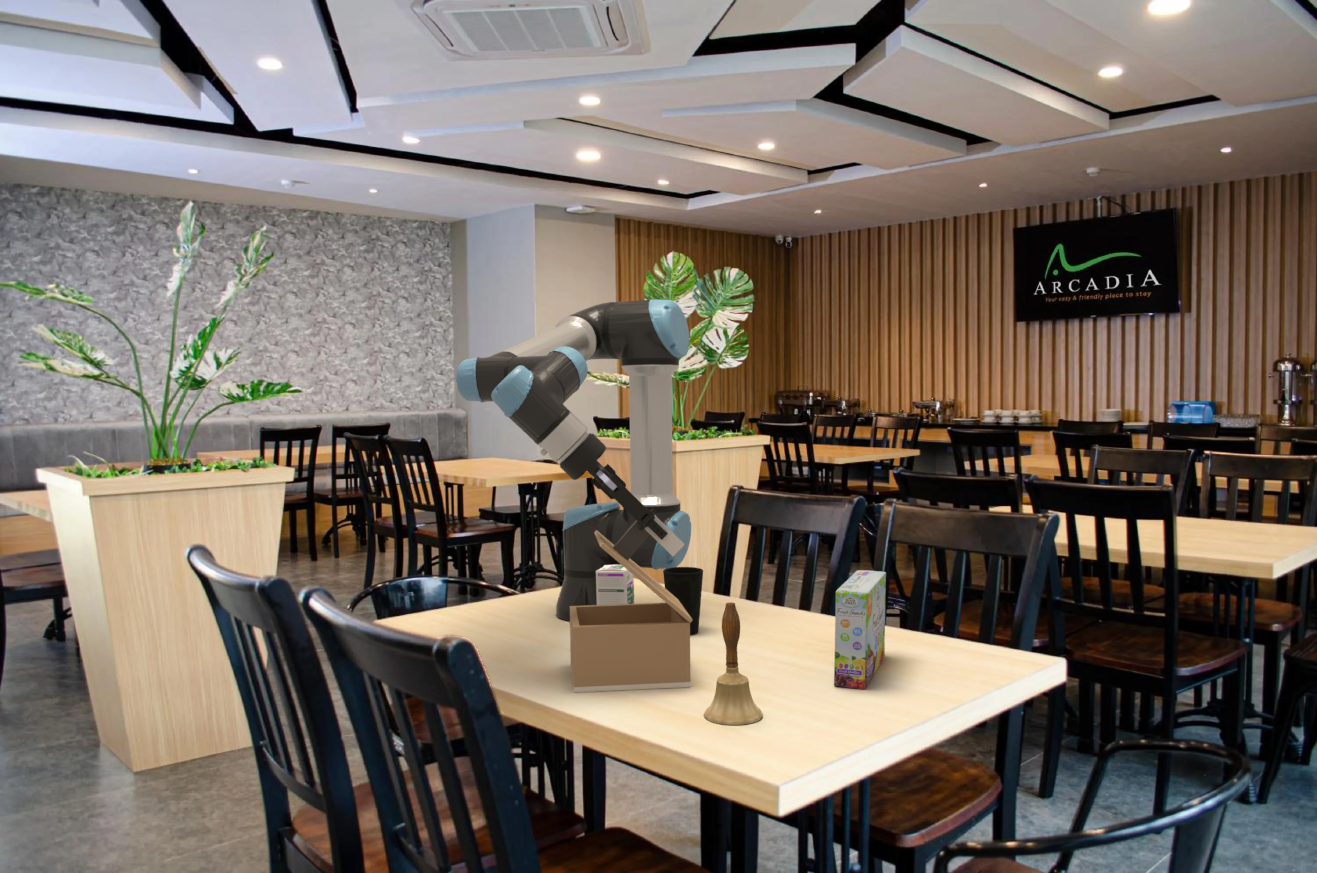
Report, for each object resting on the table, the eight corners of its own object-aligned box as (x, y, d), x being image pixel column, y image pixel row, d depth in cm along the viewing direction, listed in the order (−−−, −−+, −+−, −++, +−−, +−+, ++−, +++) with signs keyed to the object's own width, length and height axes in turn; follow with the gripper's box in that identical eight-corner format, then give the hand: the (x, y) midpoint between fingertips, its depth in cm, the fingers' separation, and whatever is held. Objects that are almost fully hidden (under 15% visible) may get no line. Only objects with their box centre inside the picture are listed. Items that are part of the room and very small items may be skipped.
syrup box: (628, 650, 175) (627, 569, 175) (596, 649, 176) (595, 568, 176) (635, 643, 181) (634, 564, 180) (604, 641, 182) (603, 563, 181)
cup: (697, 638, 184) (696, 574, 183) (658, 635, 186) (657, 572, 186) (708, 629, 191) (707, 567, 191) (671, 626, 193) (670, 566, 193)
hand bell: (705, 726, 134) (704, 609, 133) (702, 707, 142) (701, 597, 142) (766, 725, 134) (765, 609, 133) (759, 706, 142) (758, 597, 142)
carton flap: (600, 546, 149) (637, 503, 150) (594, 532, 166) (627, 494, 166) (690, 623, 152) (726, 580, 152) (675, 601, 168) (708, 563, 168)
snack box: (869, 691, 149) (869, 592, 149) (832, 687, 151) (831, 590, 151) (887, 656, 169) (887, 569, 169) (854, 654, 171) (854, 568, 171)
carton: (573, 692, 150) (572, 627, 150) (570, 664, 166) (569, 606, 165) (690, 687, 152) (689, 622, 152) (676, 660, 168) (675, 602, 168)
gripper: (556, 461, 164) (656, 558, 166) (557, 467, 149) (667, 573, 152) (588, 429, 164) (687, 526, 167) (592, 432, 150) (700, 538, 152)
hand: (677, 548), depth 159 cm, fingers closed on carton flap, 2 cm apart
